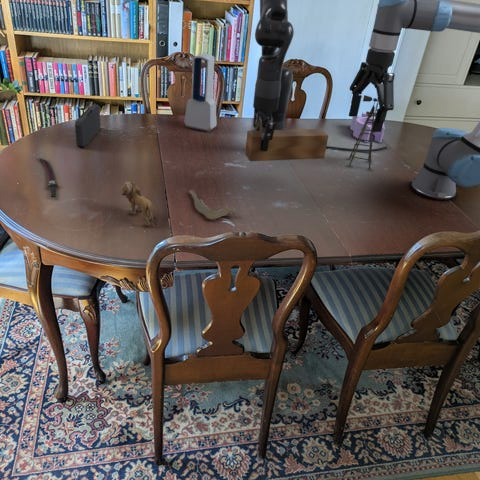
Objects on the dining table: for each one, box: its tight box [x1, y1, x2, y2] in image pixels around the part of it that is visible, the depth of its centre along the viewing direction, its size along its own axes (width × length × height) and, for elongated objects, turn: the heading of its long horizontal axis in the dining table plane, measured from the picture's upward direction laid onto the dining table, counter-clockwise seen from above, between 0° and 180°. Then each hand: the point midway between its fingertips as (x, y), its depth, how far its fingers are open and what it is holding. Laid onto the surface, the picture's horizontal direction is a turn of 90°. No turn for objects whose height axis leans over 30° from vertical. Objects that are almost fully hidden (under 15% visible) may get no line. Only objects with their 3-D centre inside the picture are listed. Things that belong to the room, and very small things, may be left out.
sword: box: [40, 158, 59, 198], centre depth 151 cm, size 31×3×1 cm, turn 26°
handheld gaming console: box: [74, 103, 101, 148], centre depth 180 cm, size 23×3×10 cm, turn 178°
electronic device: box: [183, 53, 218, 133], centre depth 195 cm, size 12×8×30 cm, turn 71°
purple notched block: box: [349, 112, 386, 143], centre depth 214 cm, size 20×12×7 cm, turn 11°
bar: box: [244, 128, 329, 162], centre depth 150 cm, size 26×6×8 cm, turn 106°
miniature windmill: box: [348, 94, 379, 170], centre depth 177 cm, size 9×8×30 cm
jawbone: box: [188, 189, 239, 221], centre depth 143 cm, size 9×20×2 cm, turn 50°
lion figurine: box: [119, 181, 159, 227], centre depth 134 cm, size 15×5×9 cm, turn 50°
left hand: (260, 146), depth 148 cm, fingers closed on bar, 5 cm apart
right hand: (364, 123), depth 142 cm, fingers open, 13 cm apart
